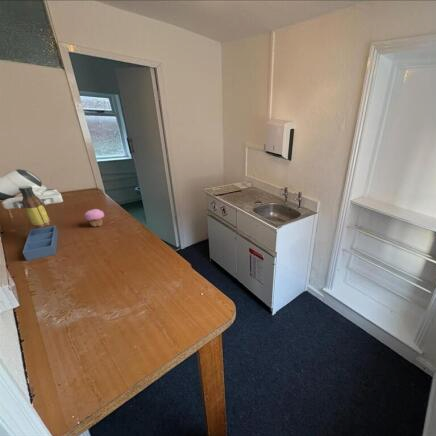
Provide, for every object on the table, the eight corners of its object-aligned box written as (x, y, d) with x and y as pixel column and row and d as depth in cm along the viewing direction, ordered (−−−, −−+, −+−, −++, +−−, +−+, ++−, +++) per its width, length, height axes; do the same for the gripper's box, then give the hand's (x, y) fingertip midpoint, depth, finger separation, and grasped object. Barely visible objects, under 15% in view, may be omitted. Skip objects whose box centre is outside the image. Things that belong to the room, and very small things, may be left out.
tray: (26, 260, 102) (22, 252, 100) (33, 237, 120) (30, 229, 118) (56, 254, 107) (52, 245, 106) (58, 232, 126) (55, 225, 124)
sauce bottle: (47, 221, 118) (32, 184, 110) (53, 224, 116) (39, 186, 108) (29, 226, 113) (13, 186, 105) (35, 229, 110) (19, 189, 103)
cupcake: (107, 221, 142) (102, 206, 138) (106, 226, 135) (101, 211, 131) (88, 224, 137) (83, 208, 133) (86, 230, 130) (81, 213, 126)
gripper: (2, 194, 111) (-4, 202, 102) (60, 188, 124) (59, 195, 114) (8, 207, 114) (2, 216, 104) (64, 200, 126) (64, 207, 117)
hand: (33, 205), depth 109 cm, fingers closed on sauce bottle, 6 cm apart
